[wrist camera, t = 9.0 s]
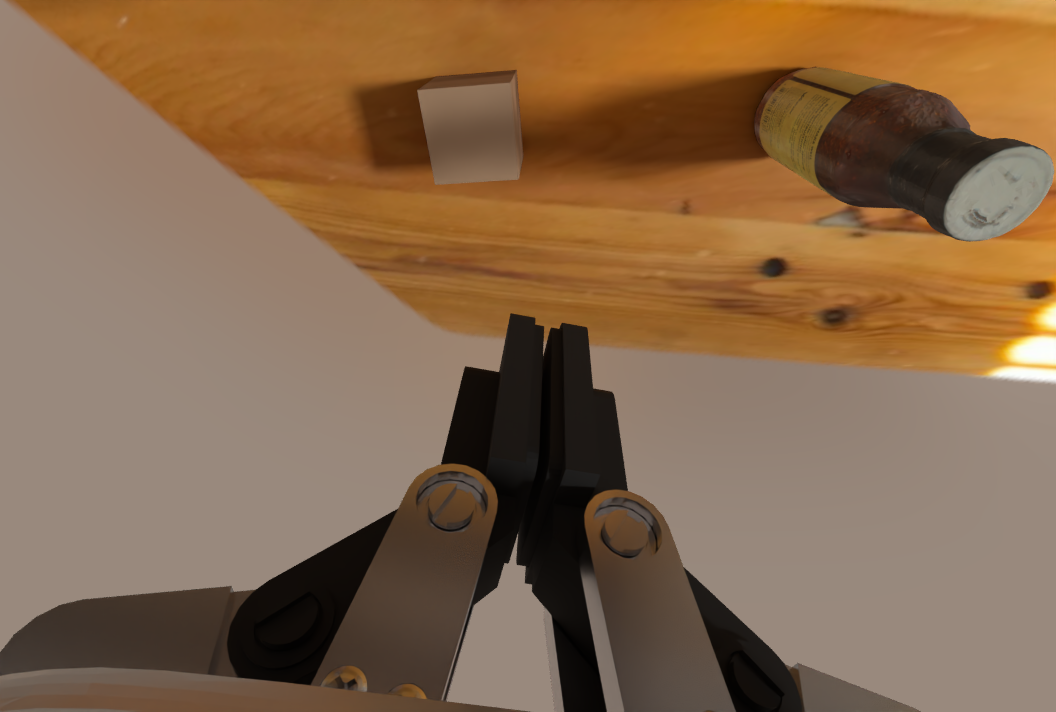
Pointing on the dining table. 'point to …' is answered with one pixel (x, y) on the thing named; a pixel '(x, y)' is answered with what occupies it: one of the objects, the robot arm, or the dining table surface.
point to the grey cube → (473, 127)
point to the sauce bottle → (900, 152)
